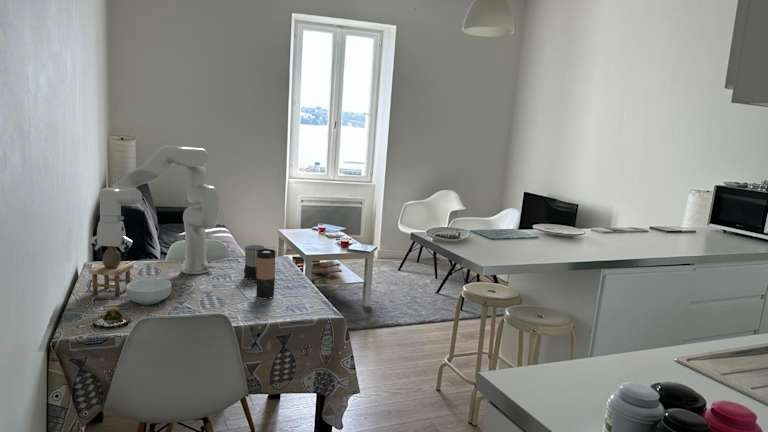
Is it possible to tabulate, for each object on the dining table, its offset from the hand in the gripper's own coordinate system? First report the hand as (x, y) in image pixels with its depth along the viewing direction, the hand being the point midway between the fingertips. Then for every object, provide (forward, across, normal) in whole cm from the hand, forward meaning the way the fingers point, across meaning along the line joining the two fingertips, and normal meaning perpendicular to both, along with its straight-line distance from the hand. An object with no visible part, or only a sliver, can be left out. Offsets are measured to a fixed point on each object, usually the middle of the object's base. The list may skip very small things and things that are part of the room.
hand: (111, 259), depth 221 cm
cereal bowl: (+14, -19, +8) cm, 25 cm away
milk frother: (+14, -49, -38) cm, 64 cm away
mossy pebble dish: (+14, -17, +33) cm, 40 cm away
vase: (+4, 0, 0) cm, 4 cm away
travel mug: (+14, -62, -7) cm, 64 cm away
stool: (+14, 0, 0) cm, 14 cm away
